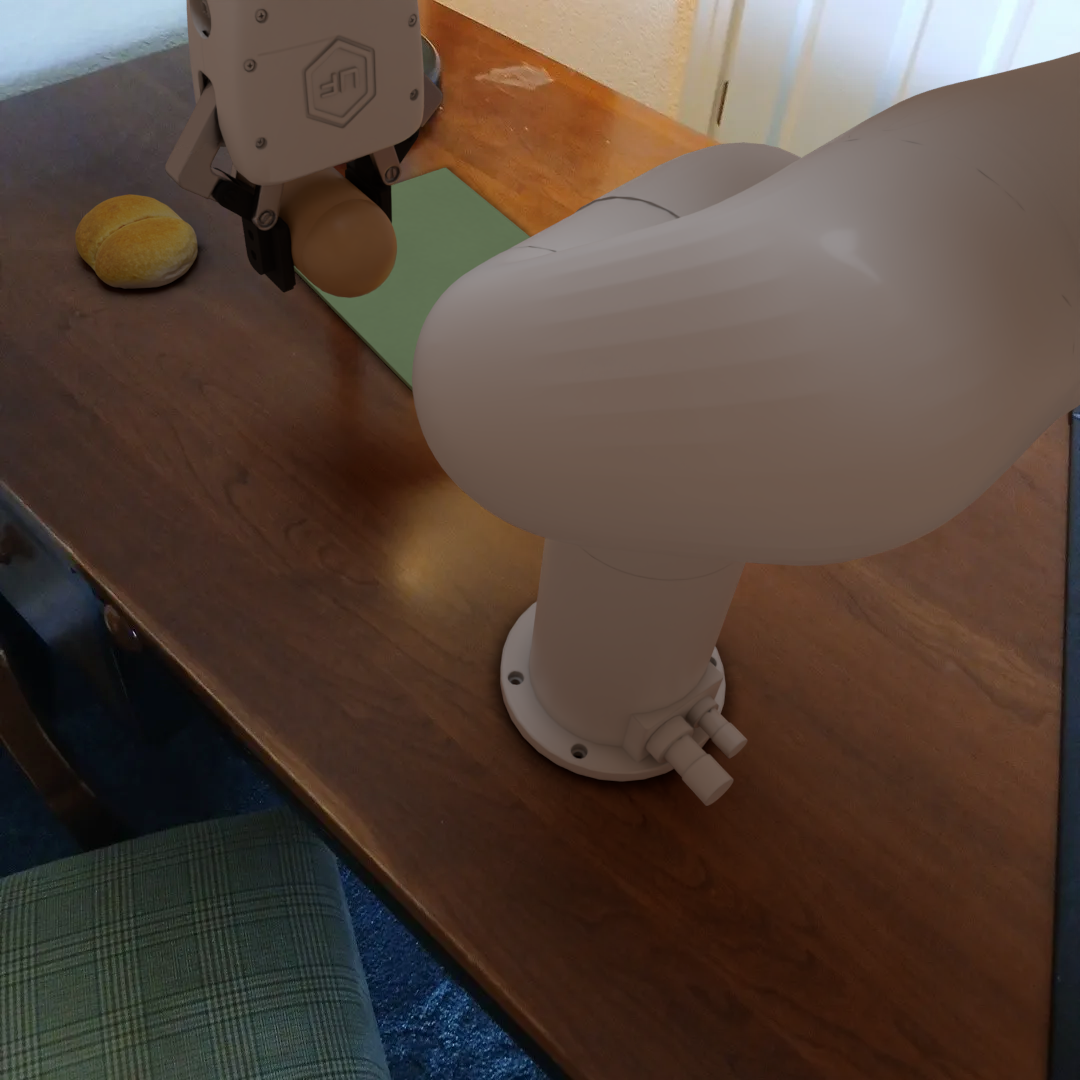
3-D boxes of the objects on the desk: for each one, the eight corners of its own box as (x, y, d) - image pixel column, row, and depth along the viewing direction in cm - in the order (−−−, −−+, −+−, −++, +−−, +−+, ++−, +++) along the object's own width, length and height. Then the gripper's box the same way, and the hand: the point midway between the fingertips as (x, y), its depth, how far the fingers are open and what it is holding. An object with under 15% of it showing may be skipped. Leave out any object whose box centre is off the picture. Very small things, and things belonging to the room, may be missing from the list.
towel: (608, 305, 81) (609, 301, 81) (413, 392, 73) (413, 388, 73) (445, 171, 91) (445, 166, 91) (258, 234, 83) (258, 230, 83)
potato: (417, 296, 56) (417, 211, 52) (333, 331, 53) (327, 245, 49) (313, 202, 60) (305, 117, 56) (232, 230, 58) (218, 144, 54)
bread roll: (121, 308, 76) (107, 262, 73) (66, 247, 80) (51, 201, 77) (222, 269, 80) (214, 223, 77) (165, 213, 84) (155, 167, 81)
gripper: (137, -35, 37) (215, 356, 51) (512, -116, 45) (490, 242, 59) (46, -111, 40) (142, 276, 54) (410, -175, 48) (412, 178, 62)
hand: (323, 255), depth 57 cm, fingers closed on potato, 5 cm apart
